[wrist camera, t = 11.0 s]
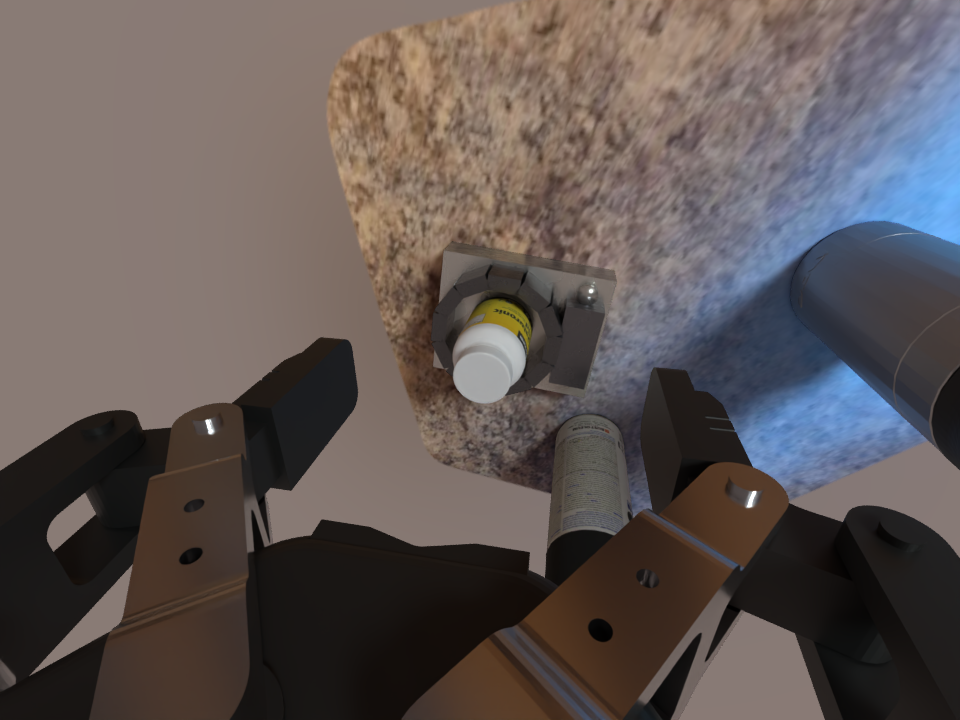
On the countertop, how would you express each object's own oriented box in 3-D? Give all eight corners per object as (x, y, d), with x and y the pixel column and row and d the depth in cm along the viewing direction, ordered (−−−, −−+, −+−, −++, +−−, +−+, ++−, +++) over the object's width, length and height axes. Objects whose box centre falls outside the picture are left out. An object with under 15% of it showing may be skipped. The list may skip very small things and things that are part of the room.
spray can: (587, 475, 50) (592, 671, 32) (541, 436, 48) (520, 618, 31) (637, 441, 47) (672, 638, 29) (589, 399, 45) (596, 577, 28)
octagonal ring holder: (614, 270, 39) (620, 294, 34) (583, 381, 45) (584, 416, 39) (452, 241, 41) (433, 260, 35) (441, 352, 46) (423, 383, 41)
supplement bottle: (546, 329, 40) (537, 389, 31) (497, 362, 42) (476, 426, 33) (506, 280, 38) (485, 328, 30) (458, 316, 40) (425, 371, 32)
